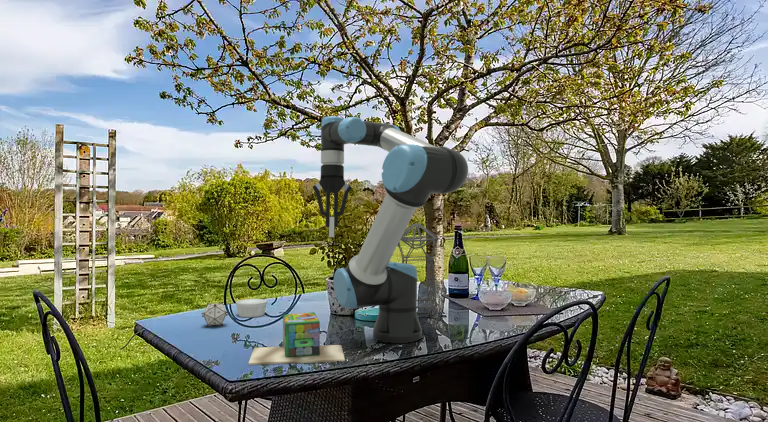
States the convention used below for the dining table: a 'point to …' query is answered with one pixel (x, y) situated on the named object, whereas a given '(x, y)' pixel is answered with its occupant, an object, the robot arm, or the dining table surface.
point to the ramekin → (251, 307)
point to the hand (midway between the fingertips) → (331, 236)
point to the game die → (214, 314)
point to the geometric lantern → (422, 259)
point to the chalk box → (301, 334)
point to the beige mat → (278, 357)
